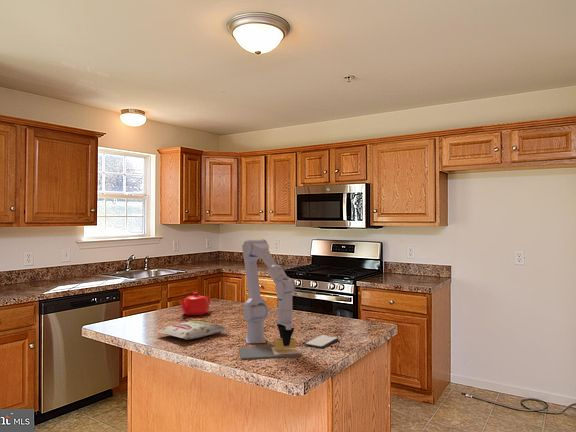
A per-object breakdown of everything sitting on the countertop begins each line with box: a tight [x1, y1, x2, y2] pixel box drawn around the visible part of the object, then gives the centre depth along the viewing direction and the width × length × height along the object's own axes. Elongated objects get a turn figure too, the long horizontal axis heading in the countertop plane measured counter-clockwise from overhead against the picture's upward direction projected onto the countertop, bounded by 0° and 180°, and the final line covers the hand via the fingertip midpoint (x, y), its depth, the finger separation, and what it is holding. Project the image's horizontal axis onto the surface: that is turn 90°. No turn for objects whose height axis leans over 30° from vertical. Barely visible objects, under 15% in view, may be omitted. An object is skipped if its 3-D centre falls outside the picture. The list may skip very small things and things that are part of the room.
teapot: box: [178, 291, 211, 316], centre depth 237 cm, size 25×16×12 cm, turn 149°
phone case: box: [304, 334, 339, 350], centre depth 181 cm, size 9×2×16 cm
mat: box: [238, 345, 302, 361], centre depth 166 cm, size 14×23×1 cm, turn 100°
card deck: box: [273, 336, 297, 349], centre depth 168 cm, size 8×5×3 cm, turn 101°
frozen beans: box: [156, 320, 229, 341], centre depth 192 cm, size 21×6×25 cm
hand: (285, 343), depth 168 cm, fingers closed on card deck, 5 cm apart
